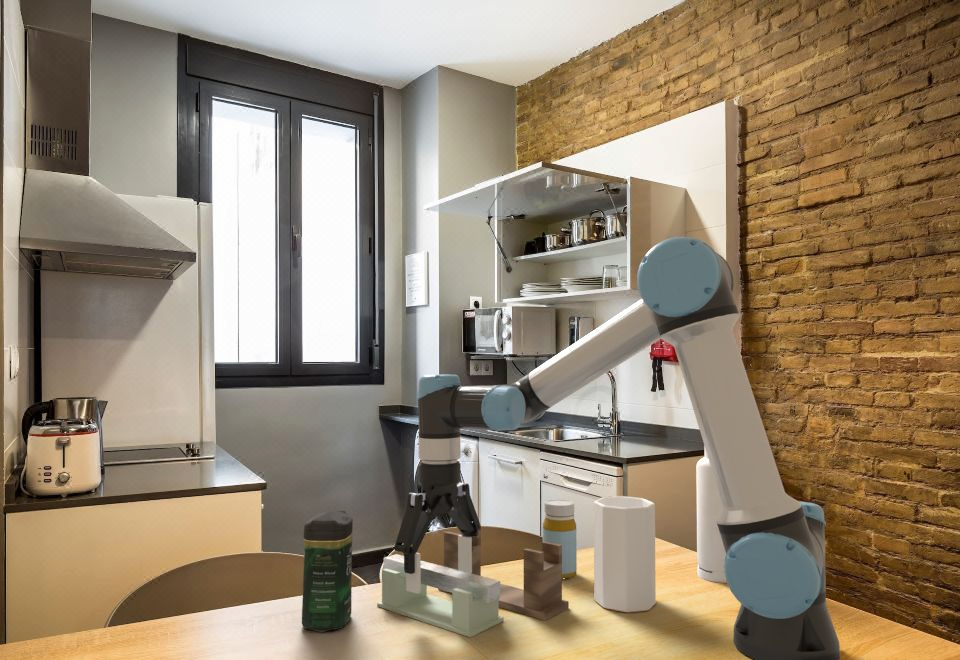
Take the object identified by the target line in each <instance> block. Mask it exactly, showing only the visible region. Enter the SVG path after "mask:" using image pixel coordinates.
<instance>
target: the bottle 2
mask: <svg viewBox="0 0 960 660" xmlns="http://www.w3.org/2000/svg"><path fill="white" fill-rule="evenodd" d="M703 449H704V452H703V453H704V456H703V457H702V458H700V459H699V460H698V461H697V463H696V466H695V467H696V471H695V476H696V478H695V481H696V559H697V560H696V561H697V567H696V569H697V570H696V571H697V572H696V574H697V576H698V577H699V578H700V579H702V580H705V581H708V582H713V583H720V584H721V583H726V584H727V581H726V577H725V568H724V564H725V557H726V552H725V549H724V545H723V542H722V539H721V535H720V532H719V528H718V525H717V521H716V519H717V517H718V515H719V514H720V512H721V510H722V507H723V504H722V501H721V498H720V494H719V491H718V488H717V485H716V481H715V478H714V475H713V472H712V468H711V465H710V462H709V459H708V455H707V452H706V449H705V446H703Z"/></svg>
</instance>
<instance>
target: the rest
mask: <svg viewBox="0 0 960 660" xmlns="http://www.w3.org/2000/svg"><path fill="white" fill-rule="evenodd" d="M381 570H382V571H381V573H382V575H381V578H382V579H381V592H382V593H381V601H379V602H377V603H376V604H377V605H376V606H377V607H378V608H381V609H385V610H387V611H390V612H393V613H396V614H399V615H402V616H405V617H409V618H411V619H414V620H417V621H420V622H423V623H425V624H429V625H432V626H434V627H438V628H441V629H444V630H447V631H450V632H453V633H456V634H458V635H462V636H465V637H468V638H472V637H474V636H476V635H478V634H480V633H482V632H485V631H486V630H488V629H491V628H493V627H494V626H497V625H498V624H500V623H503V622H504V617H503V616H500V615H499V608H500V607H499V599H497V600H495V601H492V602H490V603H486V602H482V601H479V600H476V599H473V593H472V592H468V591H465V590H461V589H458V588H455V589H453V590H452V593H451V594H452V597H451V598H452V599H451V600H447V599H443V598H441V597H436V596H434V595H429V594H427V593H428V590H427V589H428V588H427V587H428V586H427V585H423V584H421V593H418V594H417V593H413V592H410V591H406V579H403V578H400V572H397V571H394V570H390V569H384V568H383V569H381Z"/></svg>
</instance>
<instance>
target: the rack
mask: <svg viewBox="0 0 960 660" xmlns="http://www.w3.org/2000/svg"><path fill="white" fill-rule="evenodd" d="M477 531H478V535H477V536H476V537H475V536H473V552H472V573H471V574H475V575H479V576H482V568H481V566H482V565H481V563H482V556H481V555H482V552H481V551H482V541H481V540H482V528H481V529H480V530H477ZM459 535H462V533H457V532H452V531H444V532H443V566H444V567H448V568H452V569H456V570H458V536H459ZM541 543H542V544H541V545H542V548H541V549H542V551H541V550H536V549H531V548H524V549H523V588H519V587H515V586H512V585H508V584H504V583H500V598H499V608H501V609H505V610H508V611H511V612H515V613H518V614H522V615H525V616H529V617H531V618H535V619H538V620H543V621H547V620H549V619H551V618H553V617H554V616H556V615H559V614H560V613H562V612H564V611H566V610H568V609H569V608H570V607H569V605H570V604H569V600H565V599H563V579H562V545H560V544H556V543H551V542H546V541H545V542H543V541H542V542H541ZM438 590H439V591H441V592H442V591H443V592H446V593H448V594H452V593H451V592H448V591H444V590H441V589H438Z"/></svg>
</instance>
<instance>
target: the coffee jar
mask: <svg viewBox="0 0 960 660" xmlns="http://www.w3.org/2000/svg"><path fill="white" fill-rule="evenodd" d="M353 521H354V520H353V517H352V516H351V515H350V514H349V513H347V511H345V510H329V509H327V510H322V512H320V513H317V514H316V515H313V516H312V517H310V519H308V520H307V521H306V522H305V523H304V526H303V576H302V577H303V578H302V579H303V581H302V606H301V607H302V608H301V625H302V627H303V629H307V630H311V631H314V632H322V633H324V632H328V631H331V630H337V629H338V630H339V629H342V628H344V626H345V625H346V624H347V623H348V622H349V620H350V618H351V616H352V575H353V573H352V571H353V570H352V569H353V563H352V562H353V533H354V532H353V530H354V528H353V525H354V523H353Z"/></svg>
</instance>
